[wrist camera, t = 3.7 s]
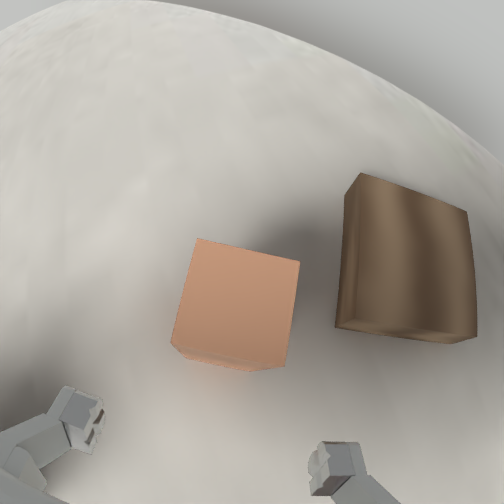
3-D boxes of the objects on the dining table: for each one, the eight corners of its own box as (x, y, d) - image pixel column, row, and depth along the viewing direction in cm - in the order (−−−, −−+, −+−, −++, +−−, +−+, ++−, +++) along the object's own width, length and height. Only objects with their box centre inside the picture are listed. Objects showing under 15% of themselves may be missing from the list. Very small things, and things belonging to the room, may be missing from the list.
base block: (443, 229, 29) (466, 211, 25) (447, 344, 24) (477, 336, 21) (342, 197, 28) (360, 172, 25) (332, 328, 24) (355, 318, 20)
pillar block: (261, 310, 23) (300, 261, 14) (249, 371, 21) (284, 366, 12) (199, 296, 23) (197, 238, 13) (185, 357, 21) (170, 342, 12)
